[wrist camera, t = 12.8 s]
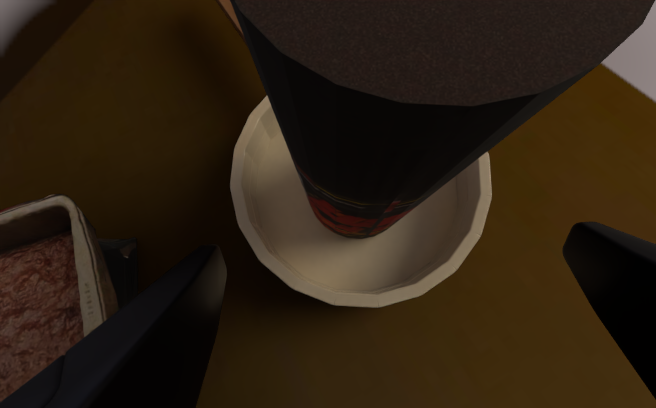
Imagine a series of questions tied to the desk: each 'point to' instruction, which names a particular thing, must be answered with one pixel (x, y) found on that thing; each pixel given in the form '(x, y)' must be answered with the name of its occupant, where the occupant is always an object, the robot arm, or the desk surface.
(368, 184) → the deodorant
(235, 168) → the pan
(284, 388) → the desk surface
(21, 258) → the baking dish
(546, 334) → the desk surface
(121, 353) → the robot arm
